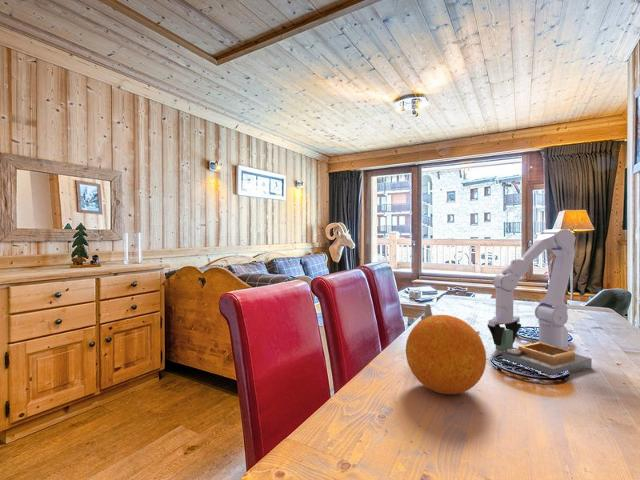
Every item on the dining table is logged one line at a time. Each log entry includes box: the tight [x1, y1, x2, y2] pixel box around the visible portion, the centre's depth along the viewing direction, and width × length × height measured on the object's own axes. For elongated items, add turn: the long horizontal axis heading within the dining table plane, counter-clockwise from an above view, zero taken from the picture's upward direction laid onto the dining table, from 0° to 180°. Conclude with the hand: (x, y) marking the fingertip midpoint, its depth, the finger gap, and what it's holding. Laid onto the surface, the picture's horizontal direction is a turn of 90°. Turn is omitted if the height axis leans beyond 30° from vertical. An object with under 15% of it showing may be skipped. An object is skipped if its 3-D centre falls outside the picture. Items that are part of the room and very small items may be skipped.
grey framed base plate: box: [501, 341, 593, 375], centre depth 109 cm, size 20×16×5 cm
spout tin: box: [495, 326, 514, 352], centre depth 124 cm, size 4×4×8 cm
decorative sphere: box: [405, 314, 487, 395], centre depth 90 cm, size 20×20×20 cm
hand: (504, 343), depth 125 cm, fingers open, 7 cm apart
